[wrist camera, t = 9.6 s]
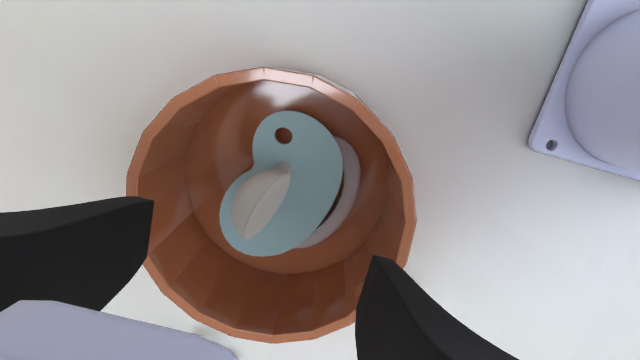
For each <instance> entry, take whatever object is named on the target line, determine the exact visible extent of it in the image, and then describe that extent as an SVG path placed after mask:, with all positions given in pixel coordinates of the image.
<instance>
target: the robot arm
mask: <svg viewBox="0 0 640 360" xmlns="http://www.w3.org/2000/svg"><path fill="white" fill-rule="evenodd" d="M550 140H552V141H553V145H552V146H551V148H549V149H547V147H546V144H547V142H548V141H550ZM528 145H529V147H530V149H532V150H534V151H536V152H539V153H543V154H546V155H550V156H553V157H557V158H561V159H564V160H568V161H571V162H575V163H578V164H582V165H585V166H589V167H592V168H596V169H600V170H603V171H607V172H610V173H614V174H617V175H621V176H624V177H628V178H632V179H635V180H639V181H640V0H588V2H587V4H586V7H585V9H584V11H583V13H582V16H581V18H580V20H579V23H578V25H577V27H576V30H575V32H574V34H573V37H572V39H571V41H570V44H569V46H568V48H567V51H566V53H565V55H564V58H563V60H562V62H561V65H560V67H559V69H558V72H557V74H556V76H555V79H554V81H553V83H552V86H551V88H550V90H549V93H548V95H547V97H546V99H545V102H544V104H543V106H542V109H541V111H540V113H539V116H538V118H537V120H536V123H535V125H534V127H533V130H532V132H531V134H530V137H529V140H528ZM153 208H154V200H150V199H145V198H141V197H137V196H126V197H118V198H111V199H105V200H99V201H93V202H87V203H81V204H75V205H68V206H61V207H54V208H47V209H40V210H31V211H20V212H6V213H0V360H238V359H237V357H236V356H235V355H234V354H233V352H232V351H231V350H229V349H227V348H225V347H223V346H221V345H219V344H216V343H214V342H212V341H210V340H208V339H206V338H204V337H202V336H200V335H196V334H192V333H187V332H183V331H179V330H175V329H171V328H166V327H162V326H158V325H154V324H150V323H146V322H141V321H137V320H133V319H129V318H125V317H120V316H116V315H112V314H108V313H104V312H100V311H101V310H102V309H103V308H104V307H105V306H106V305H107V304H108V303H109V302H110V301H111V300H112V299H113V298H114V297H115V296H116V295H117V294H118V293H119V292H120V291H121V290H122V289H123V287H124V286H125V285H126V284H127V283H128V282H129V281H130V280H131V279H132V277H133V276H134V275H135V273H136V272H137V271H138V269H139V268H140V267H141V265H142V264H143V262H144V261H145V260H146V258H147V254H148V247H149V239H150V231H151V224H152V216H153ZM355 338H356V348H357V358H358V360H519V359H517V358H515V357H513V356H511V355H510V354H508V353H506V352H504V351H503V350H501V349H499V348H498V347H496V346H495V345H493V344H491V343H490V342H488V341H487V340H485V339H483V338H482V337H480V336H479V335H477V334H476V333H475V332H473V331H472V330H470V329H469V328H468V327H466V326H465V325H464V324H462V323H461V322H460V321H458V320H457V319H456V318H454V317H453V316H452V315H450V314H449V313H448V312H447V311H446V310H444V309H443V308H442V307H441V306H440V305H439V304H438V303H437V302H435V301H434V300H433V299H432V298H431V297H430V296H429V295H428V294H427V293H426V292H425V291H424V290H423V289H422V288H421V287H420V286H419V285H418V284H417V283H416V282H415V281H414V280H413V279H412V278H411V277H410V276H409V275H408V274H407V273H406V272H405V271H404V270H403V269H402V268H401V267H400V266H399V265H398V264H397V263H396V262H395V261H393V260H392V259H390V258H385V257H381V256H377V255H373V256H372V259H371V262H370V265H369V268H368V272H367V275H366V278H365V281H364V284H363V288H362V291H361V294H360V297H359V300H358V303H357V307H356V322H355Z"/></svg>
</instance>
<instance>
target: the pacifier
mask: <svg viewBox="0 0 640 360" xmlns="http://www.w3.org/2000/svg"><path fill="white" fill-rule="evenodd" d="M280 127H284V128H287V129H289V130H290V131H291V133H292V137H293V138H292V140H291V141H290V142H289V143H281V142H279V141H278V140H277V138H276V136H275V132H276V130H277V129H278V128H280ZM252 149H253V159H254V165H253V167H252V169H251V170H249V171H247V172H245V173H244V174H242V175H241V176H240V177H238V178H237V179H236V180H235V181H234V182H233V183H232V184H231V185H230V187H229V188H228V190H227V192H226V193H225V195H224V198H223V200H222V203H221V207H220V213H219V217H220V226H221V229H222V233H223V235H224V237H225V239H226V240H227V241H228V242H229V243H230V245H231V246H232V247H234V248H235V249H236V250H238V251H240V252H242V253H244V254H247V255H251V256H260V257H265V256H273V255H278V254H282V253H284V252H286V251H288V250H291V249H292V248H307V247H310V246H313V245H316V244H318V243H320V242H321V241H323V240H325V239H326V238H328V237H330V236H331V235H332V234H333V233H334V232H335V231H336V230H337V229H338V228H339V227H340V226H341V225H342V223H343V222H344V221H345V219H346V218H347V216H348V215H349V214H350V212H351V210H352V207H353V205H354V203H355V201H356V199H357V195H358V192H359V188H360V182H361V167H360V162H359V157H358V155H357V153H356V151H355V150H354V148H353V146H352V145H351V144H349V143H348V142H347V141H346V140H345V139H343V138H340V137H337V136H334V135H332V134H331V132H330V131H329V130H328V129H327V128H326V127H325V126H324V125H323V124H322V123H321V122H319V121H318V120H317V119H315V118H313V117H312V116H310V115H308V114H305V113H302V112H299V111H293V110H286V111H280V112H276V113H273V114H271V115H270V116H268V117H266V118H265V119H264V120H263V121H262V122H261V123H260V125H259V126H258V128H257V130H256V132H255V135H254V138H253V145H252ZM343 171H344V181H343V187H342V190H341V194H340V196H339V198H338V200H337V203H336V205H335V206H334V207H333V209H332V210H331V212H330V213H329V214H328V215H327V216H326V214H327V213H328V211H329V210H330V208H331V206H332V204H333V202H334V200H335V198H336V196H337V193H338V190H339V187H340V183H341V179H342V172H343ZM325 216H326V217H325ZM324 217H325V218H324Z"/></svg>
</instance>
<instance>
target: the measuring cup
mask: <svg viewBox="0 0 640 360" xmlns="http://www.w3.org/2000/svg"><path fill="white" fill-rule="evenodd" d="M286 110H293V111H299V112H302V113H305V114H308V115H310V116H312V117H313V118H315V119H317V120H318V121H319V122H321V123H322V124H323V125H324V126H325V127H326V128H327V129H328V130H329V131H330V132H331V134H332V135H334V136H337V137H340V138H343V139H345V140H346V141H347V142H348V143H349V144H351V145H352V146H353V148H354V150H355V151H356V153H357V155H358V157H359V162H360V167H361V182H360V188H359V192H358V195H357V199H356V201H355V203H354V205H353V207H352V210H351V212H350V214H349V215H348V216H347V218H346V219H345V221H344V222H343V223H342V225H341V226H340V227H339V228H338V229H337V230H336V231H335V232H334V233H333V234H332V235H331V236H330V237H328V238H326V239H325V240H323V241H321V242H320V243H318V244H316V245H313V246H310V247H307V248H292V249H291V250H288V251H286V252H284V253H282V254H278V255H273V256H265V257H260V256H251V255H247V254H244V253H242V252H240V251H238V250H236V249H235V248H234V247H232V246H231V245H230V243H229V242H228V241H227V240H226V239H225V237H224V235H223V233H222V229H221V226H220V217H219V213H220V207H221V203H222V200H223V198H224V195H225V193H226V192H227V190H228V188H229V187H230V185H231V184H232V183H233V182H234V181H235V180H236V179H237V178H238V177H240V176H241V175H242V174H244V173H245V172H247V171H249V170H251V169H252V167H253V165H254V159H253V149H252V145H253V138H254V135H255V132H256V130H257V128H258V126H259V125H260V123H261V122H262V121H263V120H264V119H265V118H266V117H268V116H270V115H271V114H273V113H276V112H280V111H286ZM275 136H276V138H277V140H278V141H279V142H281V143H289V142H290V141H291V140H292V138H293V137H292V133H291V131H290V130H289V129H287V128H284V127H280V128H278V129H277V130H276V132H275ZM343 181H344V171H343V172H342V179H341V183H340V187H339V190H338V193H337V196H336V198H335V200H334V202H333V204H332V206H331V208H330V210H329V211H328V213H327V214H326V216H327V215H328V214H329V213H330V212H331V210H332V209H333V207H334V206H335V205H336V203H337V200H338V198H339V196H340V194H341V190H342V187H343ZM126 196H137V197H141V198H145V199H150V200H154V208H153V216H152V224H151V231H150V239H149V247H148V254H147V258H146V260H145V261H144V262H143V265H144V267H145V268H146V270H147V271H148V273H149V274H150V276H151V277H152V279H153V280H154V282H155V283H156V285H157V286H158V288H159V289H160V291H161V292H162V293H163V294H164V295H165V296H167V297H168V298H169V299H170V300H171V301H173V302H174V303H175V304H176V305H177V306H179V307H180V308H181V309H182V310H183V311H185V312H186V313H187V314H188V315H189V316H191V317H192V318H193V319H195V320H196V321H199V322H201V323H203V324H205V325H207V326H209V327H212V328H214V329H216V330H218V331H220V332H223V333H225V334H227V335H229V336H233V337H236V338H242V339H248V340H254V341H260V342H266V343H274V344H275V343H285V342H295V341H304V340H313V339H317V338H319V337H322V336H324V335H327V334H329V333H331V332H334V331H336V330H339V329H341V328H344V327H346V326H349V325H351V324H353V323H354V322H355V321H356V307H357V303H358V300H359V297H360V294H361V291H362V288H363V284H364V281H365V278H366V275H367V272H368V268H369V265H370V262H371V259H372V256H373V255H377V256H381V257H385V258H390V259H392V260H393V261H395V262H396V263H397V264H398V265H399V266H400V267H401V268H402V269H403V268H404V267H405V265H406V263H407V259H408V255H409V251H410V247H411V244H412V240H413V236H414V232H415V228H416V222H417V219H416V208H415V198H414V187H413V179H412V175H411V173H410V171H409V169H408V167H407V164H406V162H405V160H404V158H403V156H402V154H401V151H400V149H399V147H398V145H397V143H396V140H395V138H394V136H393V135H392V133H391V132H390V131H389V130H388V129H387V128H386V127H385V126H384V125H383V124H382V122H381V121H380V120H379V119H378V118H377V117H376V116H375V115H374V114H373V113H372V112H371V111H370V110H369V109H368V108H367V106H366V105H365V104H364V103H363V102H362V101H361V100H360V99H359V98H358V97H357V96H356V95H355V94H354V93H353V92H351V91H350V90H348V89H346V88H344V87H342V86H340V85H338V84H336V83H335V82H333V81H331V80H329V79H327V78H325V77H323V76H321V75H318V74H313V73H307V72H301V71H295V70H289V69H282V68H271V67H259V68H253V69H247V70H241V71H235V72H229V73H223V74H217V75H214V76H212V77H210V78H208V79H206V80H204V81H203V82H201V83H199V84H197V85H195V86H193V87H192V88H190V89H188V90H186V91H184V92H183V93H181V94H179V95H177V96H175V97H174V98H173V99H171V100H170V101H169V103H168V104H167V105H166V106H165V107H164V108H163V109H162V111H161V112H160V113H159V114H158V115H157V116H156V117H155V119H154V120H153V121H152V122H151V123H150V124H149V126H148V127H147V128H146V129H145V130H144V131H143V133H142V135H141V138H140V140H139V143H138V146H137V148H136V151H135V154H134V156H133V159H132V161H131V164H130V167H129V169H128V172H127V181H126ZM326 216H325V217H326ZM325 217H324V218H325Z"/></svg>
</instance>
